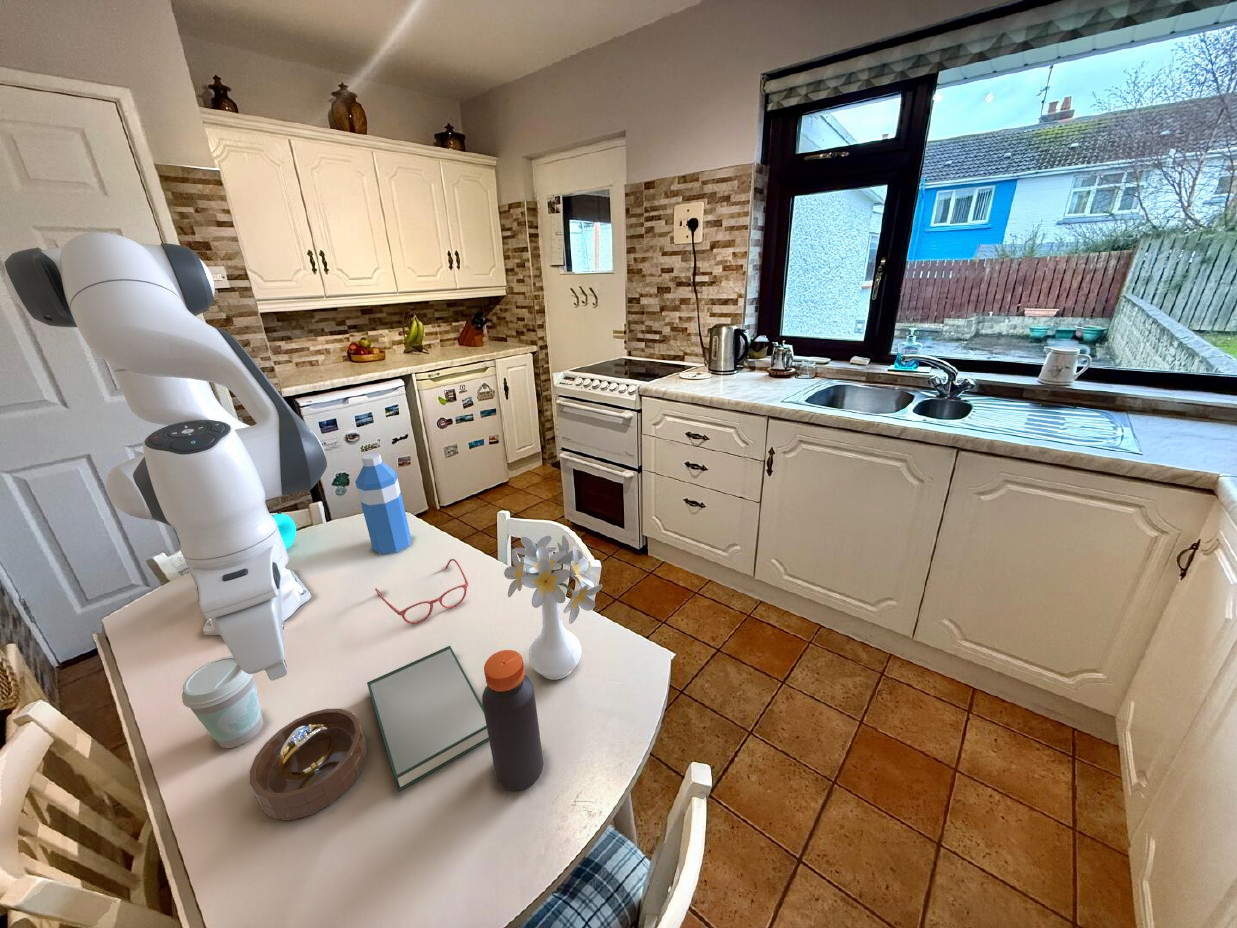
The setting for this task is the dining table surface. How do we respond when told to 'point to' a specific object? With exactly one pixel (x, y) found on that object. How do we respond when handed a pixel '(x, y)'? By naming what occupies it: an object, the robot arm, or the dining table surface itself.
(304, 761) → the bowl
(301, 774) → the ring
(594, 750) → the dining table surface
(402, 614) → the red eyeglasses
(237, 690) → the coffee cup
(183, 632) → the dining table surface
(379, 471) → the water bottle
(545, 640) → the flower vase
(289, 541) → the cyan rounded piece
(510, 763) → the vinegar
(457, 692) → the book
